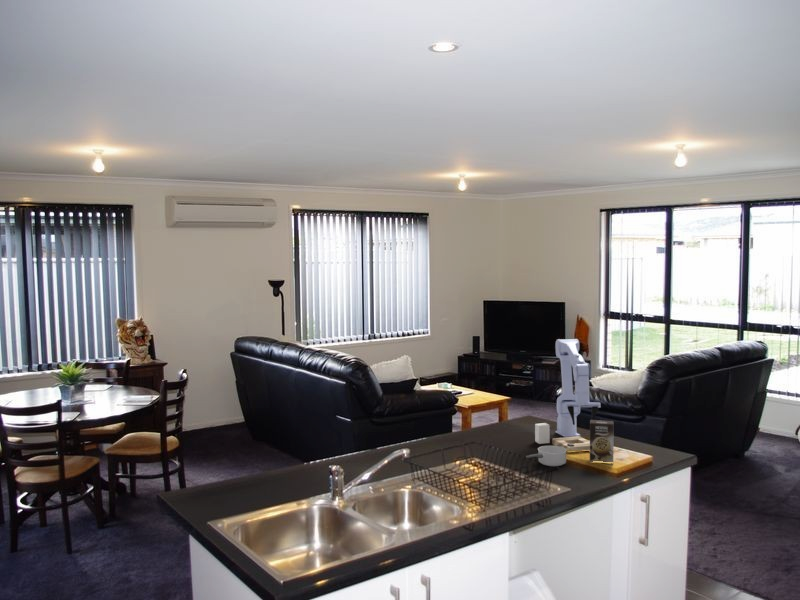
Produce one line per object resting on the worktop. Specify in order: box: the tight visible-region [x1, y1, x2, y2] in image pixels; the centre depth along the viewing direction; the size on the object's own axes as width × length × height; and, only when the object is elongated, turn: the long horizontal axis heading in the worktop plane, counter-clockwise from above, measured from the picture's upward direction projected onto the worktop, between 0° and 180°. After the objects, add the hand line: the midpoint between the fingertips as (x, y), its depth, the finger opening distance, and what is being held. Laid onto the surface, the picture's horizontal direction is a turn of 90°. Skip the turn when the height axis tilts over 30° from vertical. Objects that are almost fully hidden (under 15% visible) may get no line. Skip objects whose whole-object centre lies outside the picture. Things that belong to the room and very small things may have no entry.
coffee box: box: [589, 419, 615, 463], centre depth 267 cm, size 9×6×16 cm
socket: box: [551, 435, 590, 451], centre depth 288 cm, size 15×13×3 cm
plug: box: [534, 422, 553, 445], centre depth 298 cm, size 4×7×8 cm, turn 104°
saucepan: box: [525, 445, 567, 467], centre depth 264 cm, size 12×20×6 cm, turn 125°
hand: (583, 424), depth 284 cm, fingers open, 7 cm apart
